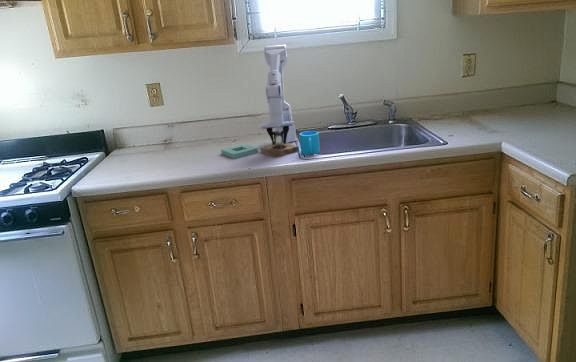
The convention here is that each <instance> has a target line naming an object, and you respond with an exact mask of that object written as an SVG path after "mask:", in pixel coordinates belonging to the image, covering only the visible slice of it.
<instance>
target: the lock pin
mask: <svg viewBox="0 0 576 362" xmlns="http://www.w3.org/2000/svg"><path fill="white" fill-rule="evenodd" d="M273 139H274V144H275V149H282V148H284V141H283V131H275V130H274V131H273Z"/></svg>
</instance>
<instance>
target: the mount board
mask: <svg viewBox="0 0 576 362" xmlns="http://www.w3.org/2000/svg"><path fill="white" fill-rule="evenodd" d="M299 148H300V147H299V146H298V145H295V144H292V143H289V142H288V143H286V144H284V148H282V149H275V143H274V145H273V144H271V145H270V144H269V145H267V146H262V147H261V148H260V153H263V154H266V155H269V156H271V157H275V158H278V157H281V156H285V155H289V154H292V153H297V152H299V151H300V149H299Z"/></svg>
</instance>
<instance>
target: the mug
mask: <svg viewBox="0 0 576 362" xmlns="http://www.w3.org/2000/svg"><path fill="white" fill-rule="evenodd" d="M299 145H300V154H302V155H316V154H319V153H320V152H321V147H320V146H321V145H320V133H319V131H316V130H308V131H303V132H300V133H299Z"/></svg>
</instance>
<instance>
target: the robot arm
mask: <svg viewBox="0 0 576 362" xmlns="http://www.w3.org/2000/svg"><path fill="white" fill-rule="evenodd" d="M263 50H264V51H263V52H264V54H263V55H264V58H265V61H266V64H267V66H269V68H270V71H268V73H267V85H266V86H265V95H266V99H267V104H268V112H269V121H270V122H269V123H267V122H266V123H262V124H260V125H259V126H260V130H261V131H262V130H266V131H267V134H268V135H269V137H270V140H271V142H272V145H274V144H275V143H274V135H273V132H274V131H283V141H284V144H286V143H288V144H289V143H292V142H295V141H298V138H297V134H296V133H297V132H296V124H295V121H294V120H293V115H292V114H293V112H292V107H291V105H290V104H289V103H288V102H286V101H285V87H284V86H285V85H284V66H286V65H287V64H288V50H287V45H286V44H277V45H265V46H264V49H263ZM273 129H274V131H273Z"/></svg>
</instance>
